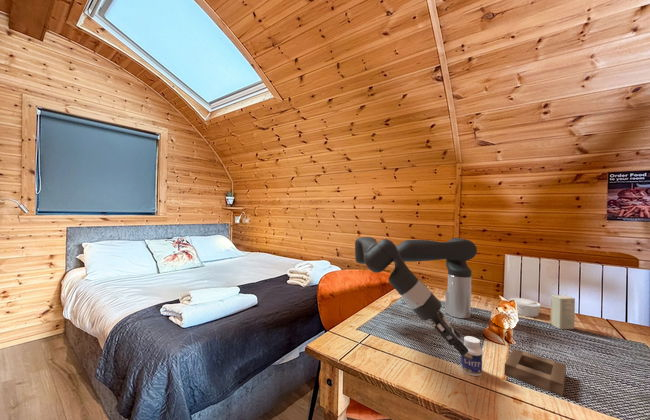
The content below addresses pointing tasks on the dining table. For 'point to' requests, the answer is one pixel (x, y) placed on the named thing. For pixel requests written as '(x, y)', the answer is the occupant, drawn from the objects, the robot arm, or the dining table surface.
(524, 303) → the ramekin
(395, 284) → the robot arm
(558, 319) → the skincare box
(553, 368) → the socket block
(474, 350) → the pill bottle
